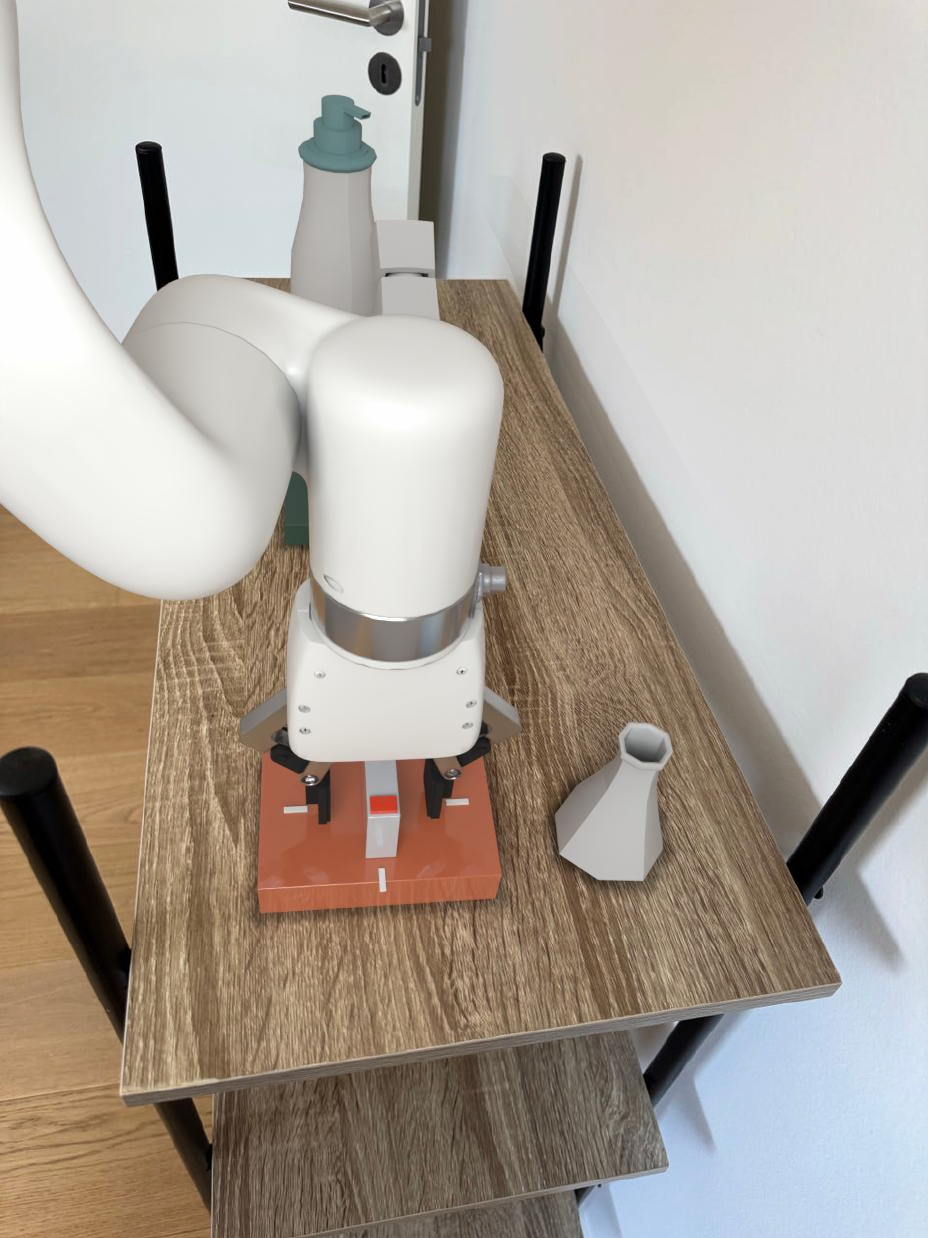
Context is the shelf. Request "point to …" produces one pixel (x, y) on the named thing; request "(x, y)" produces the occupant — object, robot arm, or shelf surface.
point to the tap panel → (335, 852)
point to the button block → (296, 511)
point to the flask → (618, 810)
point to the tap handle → (380, 808)
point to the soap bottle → (336, 212)
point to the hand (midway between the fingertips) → (378, 799)
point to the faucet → (404, 268)
